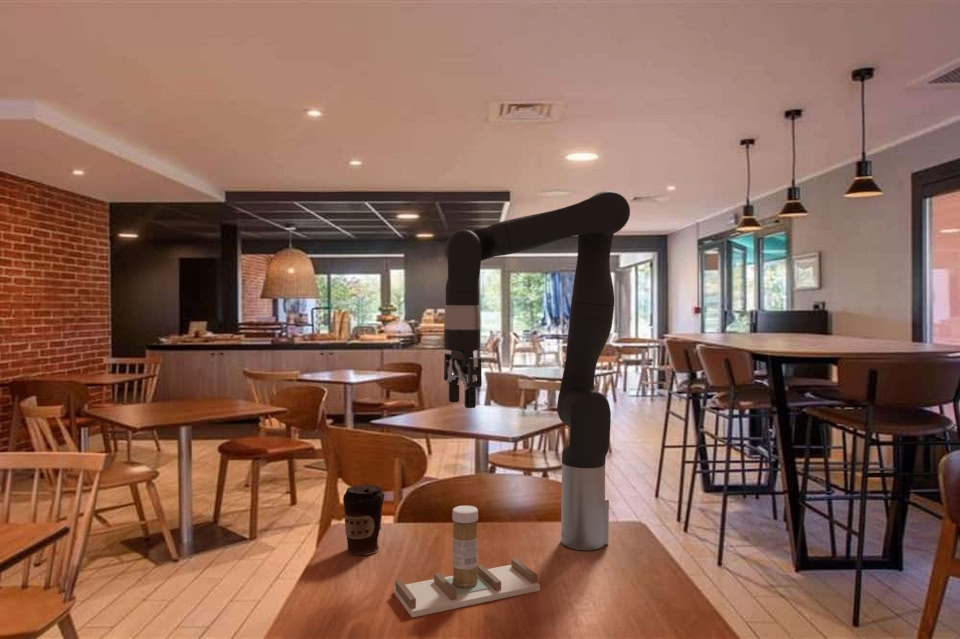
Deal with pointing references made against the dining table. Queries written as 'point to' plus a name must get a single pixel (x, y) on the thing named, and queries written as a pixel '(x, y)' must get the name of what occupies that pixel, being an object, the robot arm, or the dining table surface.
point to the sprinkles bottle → (465, 546)
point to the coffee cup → (363, 518)
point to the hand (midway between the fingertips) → (461, 404)
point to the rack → (466, 589)
